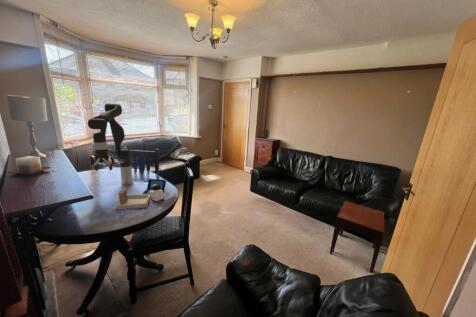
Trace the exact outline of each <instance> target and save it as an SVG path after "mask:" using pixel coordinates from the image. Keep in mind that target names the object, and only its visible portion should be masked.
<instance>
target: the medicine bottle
mask: <svg viewBox="0 0 476 317" xmlns="http://www.w3.org/2000/svg"><path fill="white" fill-rule="evenodd" d="M162 199H164V192H163V190H160V185H159V184H155V185H153V186H152V191H150V200H152V201H155V202H158V201H161V200H162Z"/></svg>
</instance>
